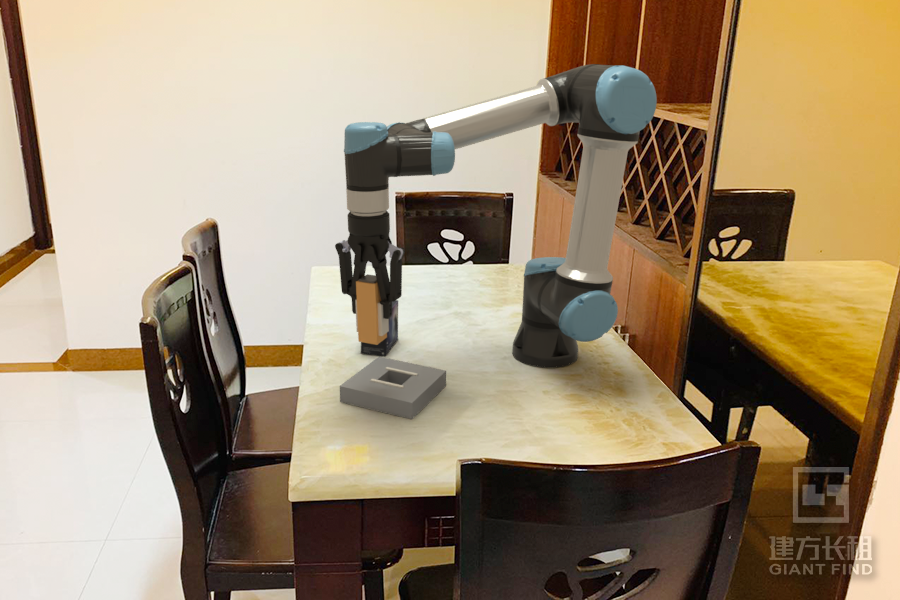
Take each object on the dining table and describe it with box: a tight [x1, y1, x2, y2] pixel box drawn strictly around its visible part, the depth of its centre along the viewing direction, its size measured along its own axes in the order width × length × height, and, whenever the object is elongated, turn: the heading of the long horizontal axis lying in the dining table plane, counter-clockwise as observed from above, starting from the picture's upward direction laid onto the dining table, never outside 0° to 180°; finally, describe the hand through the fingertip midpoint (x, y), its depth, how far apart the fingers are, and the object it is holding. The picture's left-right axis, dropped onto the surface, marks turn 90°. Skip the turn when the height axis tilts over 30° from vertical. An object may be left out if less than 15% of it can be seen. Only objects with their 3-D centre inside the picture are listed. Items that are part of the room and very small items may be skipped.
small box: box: [360, 299, 399, 357], centre depth 169 cm, size 11×6×10 cm, turn 168°
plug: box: [356, 274, 387, 345], centre depth 137 cm, size 4×4×12 cm
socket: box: [339, 356, 447, 420], centre depth 148 cm, size 16×16×4 cm
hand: (372, 331), depth 138 cm, fingers closed on plug, 4 cm apart
